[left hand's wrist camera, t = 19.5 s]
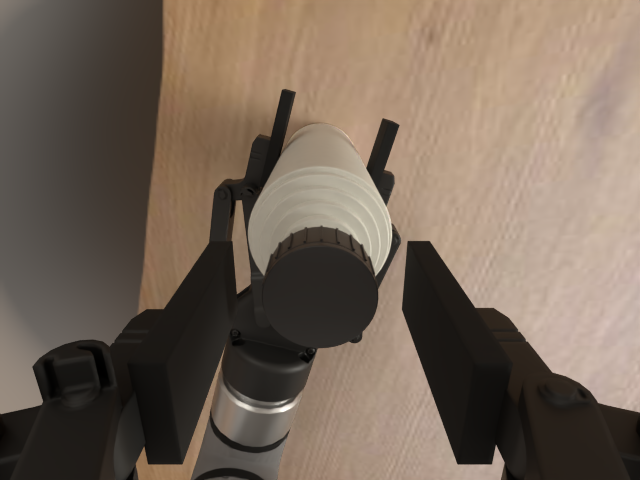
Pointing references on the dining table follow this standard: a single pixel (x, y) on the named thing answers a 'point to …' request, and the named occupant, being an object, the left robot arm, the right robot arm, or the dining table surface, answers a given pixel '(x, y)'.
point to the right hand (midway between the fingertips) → (340, 107)
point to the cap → (319, 288)
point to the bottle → (319, 196)
